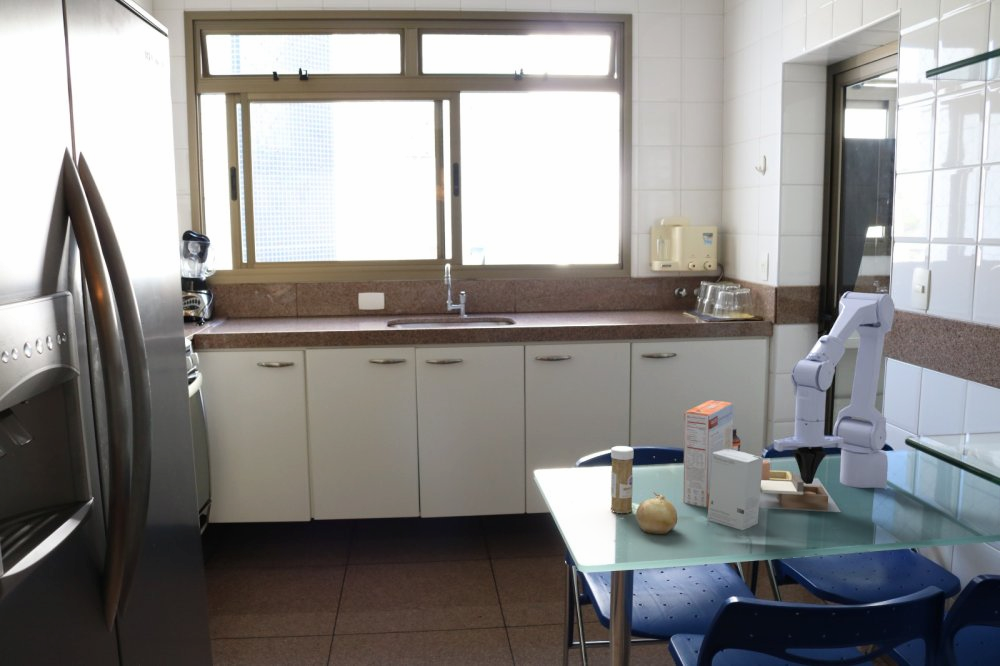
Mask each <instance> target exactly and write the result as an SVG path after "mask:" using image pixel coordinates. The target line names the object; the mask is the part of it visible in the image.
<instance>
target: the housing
mask: <svg viewBox="0 0 1000 666" xmlns="http://www.w3.org/2000/svg"><path fill="white" fill-rule="evenodd" d="M776 498H777V500H778V502H779V504H780V506H781V508H789V509H808V510H828V495H827V494H826V492H825V491H824V489H823V488H822V486H816V485H804V486H803V495H800V494H779V493H777V494H776ZM808 510H807V511H808Z"/></svg>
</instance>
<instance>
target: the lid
mask: <svg viewBox="0 0 1000 666" xmlns="http://www.w3.org/2000/svg"><path fill="white" fill-rule="evenodd" d="M791 475H792V479H791V481H769V480H761V490H762V493H779V494H800V495H803V486H804V482H803V480H802V479H801V475H800V473H799V472H795V471H794V472H791Z"/></svg>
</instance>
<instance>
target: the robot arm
mask: <svg viewBox="0 0 1000 666" xmlns="http://www.w3.org/2000/svg"><path fill="white" fill-rule="evenodd" d="M895 310H896V308H895V303H894V300H893V298H892V296H891V295H890V294H889V293H872V292H871V293H869V292H868V293H867V292H853V291H846V292H844V293H843V294H842V295H841V297H840V299H839V302H838V316H837V318H836V320H835V322H834V323H833V326H832V328H831V329H830V331H829V333H828V334H826V335H822V336H821V337H820V338H818V340H817V341H816V343H814V345H813V347H812V349H811V350H810V352H809V353H808V355H807V356H806V357H805V359H801V360H799V361H797V362H796V363H794V366H793V367H792V370H791V373H790V380H791V383H792V386H793V395H794V396H795V414H794V420H795V421H794V436H792V437H786V438H780V439H774V440H773V449H774V450H775V451H778V452H784V451H790V450H791V453H792V455H793V456H794V459H795V461H796V463H797V466H798V470H799V476H800V477H801V479H802V480H803V482H804V483H805V484H812V482H813V479H814V478H815V476H816V473H817V470H818V468H819V466H820V464H821V463H822V461H823V460H824V459H825V457H826V450H824V449H825V448H826V449H827V448H838V449H840V453H841V454H840V467H839V468H840V471H839V472H840V473H839V483H841V484H842V485H845V486H848V487H852V488H859V489H860V488H861V489H862V488H863V489H865V488H875V489H878V488H879V489H884V490H887V488H888V487H887V486H888V484H887V483H888V471H889V470H888V466H889V462H888V455H887V453H886V451H885V450H883V448H884V446H885V444H886V441H887V436H888V435H887V418H886V417H885V416H884V415H883V414H882V413H881V412H880V410H878V409H877V408H876V399H877V391H878V384H879V378H880V372H881V371H880V370H881V362H882V357H883V356H882V355H883V349H884V342H885V335H886V334H887V333H890V332H892V326H893V323H894V315H895ZM855 331H857V333H858V335H859V342H858V347H857V354H856V361H855V369H854V378H853V383H852V390H851V391H852V392H851V397H850V404H849V405H848V406H845V407H844V408H842V409H840V410H839V411H838V413H837V414H838V415H837V418H836V421H835V424H834V426H833V436H825V423H826V422H825V420H826V399H827V390H828V389H829V388H830V387H831V386H832V384H833V380H834V379H833V378H834V375H835V372H836V369H835V367H836V366H837V364H838V363H839V362H840V360H841V359H842V357H843V355H844V354H845V352H846V347H845V343H846V342H847V341H848V340H849V338H850V337H851V336H852V335H853V333H854V332H855ZM861 419H862V420H861Z"/></svg>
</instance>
